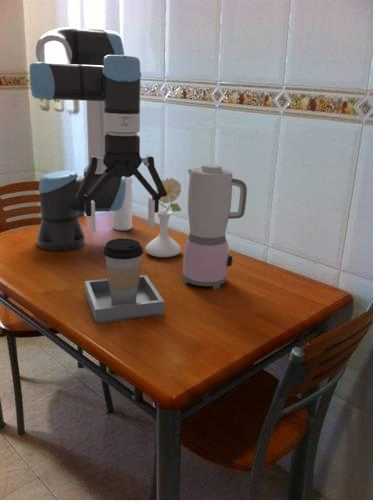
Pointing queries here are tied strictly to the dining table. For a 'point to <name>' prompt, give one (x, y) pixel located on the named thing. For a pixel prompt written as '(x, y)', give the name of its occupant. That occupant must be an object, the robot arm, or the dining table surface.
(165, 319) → the dining table surface
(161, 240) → the flower in vase
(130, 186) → the water bottle
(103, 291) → the tray
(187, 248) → the blender
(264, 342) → the dining table surface
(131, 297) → the coffee cup
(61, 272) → the dining table surface
